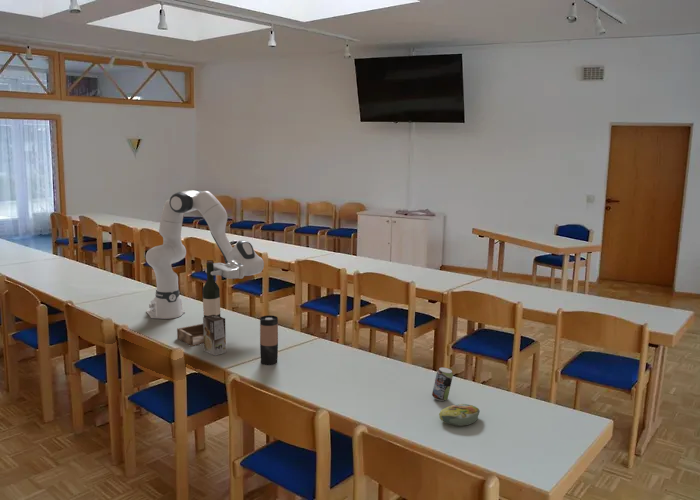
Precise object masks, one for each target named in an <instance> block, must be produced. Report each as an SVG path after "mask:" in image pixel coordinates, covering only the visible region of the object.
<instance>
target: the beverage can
mask: <svg viewBox="0 0 700 500" xmlns="http://www.w3.org/2000/svg"><path fill="white" fill-rule="evenodd" d="M453 376H454V374H453V371H452V369H450V368H447V367H445V366H444V367H439V369H437V370H436V375H435V377H434V378H435V379H434V383H433V388H432V393H431V395H432V397H433V398H434V400H437V401H441V402H443V401H444V400H445V401H446V400H448V398H449V395H450V389H451V387H452V386H451V385H452V380H453Z"/></svg>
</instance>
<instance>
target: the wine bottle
mask: <svg viewBox="0 0 700 500" xmlns="http://www.w3.org/2000/svg"><path fill="white" fill-rule="evenodd" d="M213 263H214V262H213V260H208V261H206V269H207V273H206V282H205V283H204V285H203V287H202V305H203V307H202V308H203V317H206V316H209V315H217V316H220V317H221V297H220V295H221V293H220V286H219V285H218V283H217V282H216V281H215V275H211V274H210V272H211V271H214V264H213Z"/></svg>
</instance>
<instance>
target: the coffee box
mask: <svg viewBox="0 0 700 500" xmlns="http://www.w3.org/2000/svg"><path fill="white" fill-rule="evenodd" d="M202 324H203V333H204V344H203V351H204V352H206V353H209V354H210V355H213V356H220V355H222V354H226V353H227V346H226V345H227V343H226V342H227V340H226V339H227V335H226V334H227V333H226V318H225V317H222V316H221V315H220V316H217V315H209V316H206V317H204V316H203V317H202Z"/></svg>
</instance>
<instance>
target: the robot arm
mask: <svg viewBox="0 0 700 500" xmlns="http://www.w3.org/2000/svg"><path fill="white" fill-rule="evenodd" d="M194 211H198V212H199V213H200V215H202V217H203V219H204V220H205V222H206V224H207V225H208V228H209V231H210V233H211V236H212V239H213V240H214V242H215V244H216V245H217V247H218V249H219V251H220V253H221V254H222V256H223V259H224V263H223V262H213V264H214V271H211V272H210V274H211V275H214V276H221V277H223V278H225V279H232V280H233V279H240V280H241V279H244V277H245V276H246V277H247V276H254V275H258V274H261V273H262V271H263V270H264V266H265V262H264V259H263V258H262V257H261V256H259V254H257V253H256V251H255V249H254V246H253V245H252V243H251V242H250V241H247V240H243V239H241V240H238V241H237V242H236V243H235V244H234V246H232V244H231V242H230V241H229V239H228V237H227V235H226V228H227V227H226V226H227V222H228V213H227V211H226V208H225V207H224V206H223V204H222V203H221V201H219V200H218V198H217V197H216V196H215V195H214V194H213V193H212V192H210V191H209V190H203V191H201V190H198V189H190V190H189V189H187V190H183V191H178V192H175V193H173V194H172V195H171V196H170V198H169V199H166V200H165V202H164V204H163V208H162V211H161V215H160V220H159V221H160V222H159V229H158V233H159V235H160V236H161V237H162V240H163V242H162V244H160V245H156V246H153V247H152V248H149V249H148V250H147V252H146V254H145V261H146V262H147V265H149V266H150V267H151V268H152V270H153V272H154V275H155V280H156V289H155V297H154V298H153V299H152V300H151V301H150V303H149V304H148V305H149V306H148V307H149V308H148V309H145V310H146V311H145V312H146V314H147V315H148V316H149V317H150V318H151V319H163V320H164V319H165V320H166V319H170V320H171V319H176V318H179V317H181V316H183V314H185V313H186V311H185V310H184V308H183V301H182V299H183V298H181V297H180V288H179V276H178V274H177V272H175V271H174V270H173V266H172V264H176V263H179V262H180V261H182V260H184V259H185V257H186V255H187V249H186V247H185V245H184V244H183V242H182V227H183V222H184V215H185V214H186V213H192V212H194ZM205 273H206V274H207V268H205Z"/></svg>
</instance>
